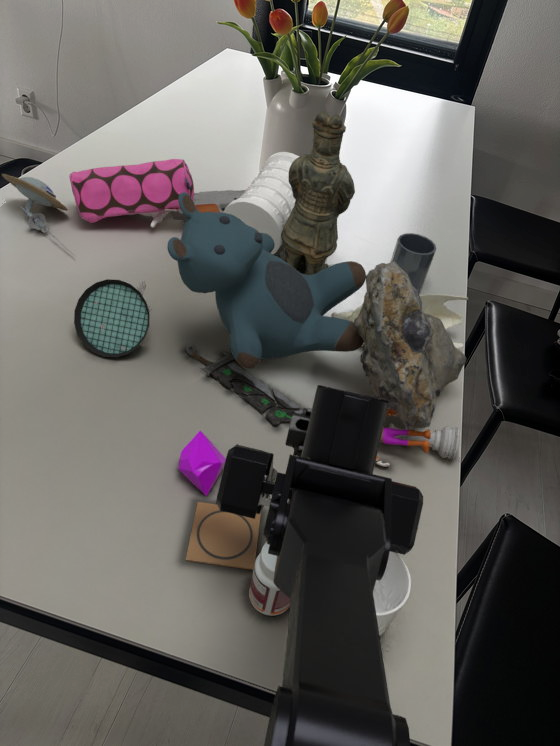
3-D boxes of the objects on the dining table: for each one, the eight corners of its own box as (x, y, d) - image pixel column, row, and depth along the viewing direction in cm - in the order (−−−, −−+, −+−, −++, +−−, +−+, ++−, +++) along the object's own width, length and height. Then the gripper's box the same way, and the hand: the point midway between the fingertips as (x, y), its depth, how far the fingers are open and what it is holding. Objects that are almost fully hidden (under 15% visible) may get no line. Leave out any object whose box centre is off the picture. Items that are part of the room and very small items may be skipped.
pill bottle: (294, 579, 68) (307, 538, 62) (289, 620, 64) (302, 581, 58) (252, 570, 68) (261, 529, 62) (244, 611, 64) (253, 571, 58)
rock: (346, 361, 67) (489, 351, 64) (346, 236, 80) (467, 223, 77) (366, 471, 87) (477, 468, 84) (365, 358, 99) (461, 351, 96)
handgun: (318, 220, 120) (284, 182, 129) (189, 233, 109) (162, 191, 118) (314, 236, 122) (281, 198, 131) (188, 251, 111) (162, 209, 120)
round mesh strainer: (82, 266, 88) (99, 272, 94) (67, 348, 88) (84, 349, 94) (157, 281, 87) (169, 286, 93) (141, 364, 87) (154, 364, 94)
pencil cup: (422, 299, 111) (438, 257, 105) (385, 293, 110) (399, 250, 104) (418, 278, 116) (433, 236, 110) (383, 272, 115) (396, 230, 109)
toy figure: (345, 406, 86) (343, 399, 84) (433, 417, 83) (433, 409, 80) (335, 461, 83) (333, 455, 80) (426, 474, 80) (426, 468, 77)
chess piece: (457, 453, 80) (381, 439, 82) (451, 464, 84) (378, 450, 85) (460, 422, 82) (385, 409, 83) (454, 434, 86) (383, 421, 87)
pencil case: (186, 150, 106) (194, 209, 107) (191, 163, 115) (199, 217, 116) (62, 165, 105) (71, 224, 106) (77, 177, 115) (86, 231, 116)
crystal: (171, 475, 75) (172, 451, 72) (201, 450, 79) (203, 426, 76) (203, 499, 73) (206, 475, 70) (232, 472, 77) (236, 448, 74)
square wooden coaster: (254, 570, 68) (254, 568, 67) (185, 560, 67) (185, 558, 67) (260, 512, 73) (261, 510, 73) (197, 503, 73) (197, 501, 73)
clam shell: (475, 285, 97) (468, 356, 100) (436, 274, 107) (430, 339, 111) (345, 292, 90) (343, 368, 94) (317, 280, 101) (316, 349, 104)
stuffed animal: (370, 381, 83) (251, 259, 63) (259, 405, 92) (125, 305, 72) (372, 248, 94) (272, 110, 75) (273, 282, 104) (161, 167, 84)
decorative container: (278, 266, 111) (313, 212, 122) (284, 213, 102) (321, 160, 113) (220, 246, 113) (259, 194, 124) (221, 193, 104) (263, 142, 115)
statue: (340, 274, 113) (382, 108, 92) (323, 300, 106) (364, 127, 86) (284, 254, 115) (313, 88, 94) (264, 278, 108) (290, 105, 88)
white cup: (378, 670, 62) (406, 626, 55) (303, 645, 62) (321, 598, 56) (388, 599, 67) (415, 552, 61) (319, 577, 68) (338, 527, 61)
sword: (337, 426, 85) (308, 451, 81) (207, 337, 95) (175, 355, 90) (338, 422, 85) (309, 448, 80) (207, 333, 94) (175, 352, 90)
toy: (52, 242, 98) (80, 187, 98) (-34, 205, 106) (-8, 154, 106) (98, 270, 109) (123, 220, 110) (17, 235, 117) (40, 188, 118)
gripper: (454, 443, 51) (417, 432, 66) (234, 392, 51) (249, 393, 67) (425, 576, 50) (394, 534, 66) (204, 523, 51) (225, 493, 66)
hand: (316, 485), depth 66 cm, fingers open, 9 cm apart
